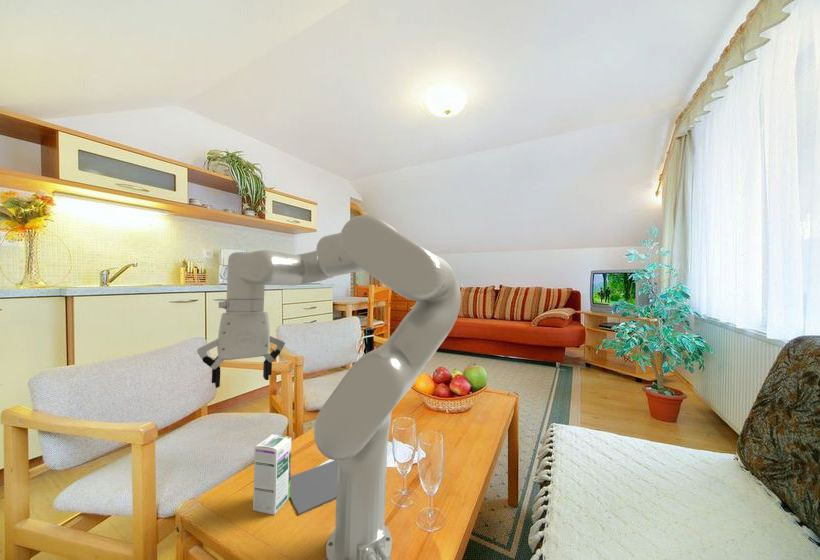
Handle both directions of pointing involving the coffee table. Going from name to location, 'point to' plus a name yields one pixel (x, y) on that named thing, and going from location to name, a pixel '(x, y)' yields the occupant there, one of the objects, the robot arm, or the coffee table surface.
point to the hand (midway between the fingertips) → (242, 382)
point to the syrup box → (272, 474)
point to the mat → (314, 487)
